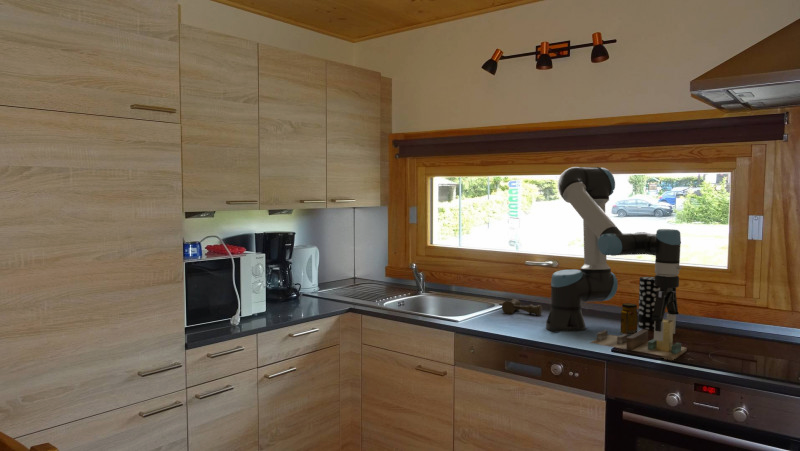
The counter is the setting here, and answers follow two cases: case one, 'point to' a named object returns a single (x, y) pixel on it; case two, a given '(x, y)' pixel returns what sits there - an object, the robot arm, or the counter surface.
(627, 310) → the condiment
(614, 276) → the robot arm
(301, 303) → the counter surface
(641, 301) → the white-spotted black cylinder
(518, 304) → the kendama
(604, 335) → the lock plate
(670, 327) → the stop bar
